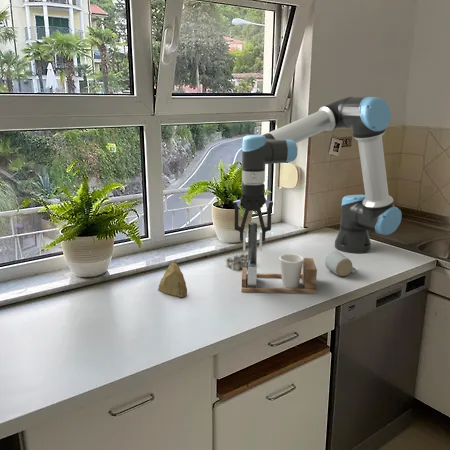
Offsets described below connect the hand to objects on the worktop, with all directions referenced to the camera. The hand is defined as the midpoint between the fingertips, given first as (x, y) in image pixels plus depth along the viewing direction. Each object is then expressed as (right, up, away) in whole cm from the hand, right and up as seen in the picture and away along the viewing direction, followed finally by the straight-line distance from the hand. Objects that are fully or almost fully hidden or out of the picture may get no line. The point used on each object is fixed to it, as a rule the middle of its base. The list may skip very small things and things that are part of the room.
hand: (252, 249), depth 159 cm
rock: (-27, -15, -4) cm, 31 cm away
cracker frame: (+9, -12, +3) cm, 16 cm away
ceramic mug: (+34, -10, +14) cm, 38 cm away
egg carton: (-4, -8, +21) cm, 23 cm away
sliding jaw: (0, -12, +3) cm, 13 cm away
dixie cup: (+13, -13, +3) cm, 19 cm away
